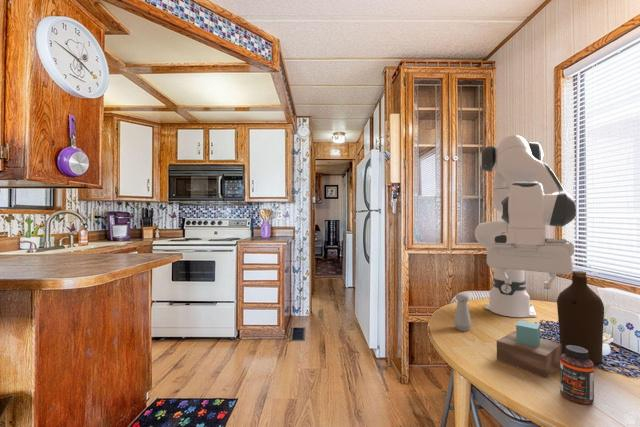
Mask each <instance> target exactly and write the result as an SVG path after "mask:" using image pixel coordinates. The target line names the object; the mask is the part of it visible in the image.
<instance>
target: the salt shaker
mask: <svg viewBox="0 0 640 427" xmlns="http://www.w3.org/2000/svg"><path fill="white" fill-rule="evenodd" d="M455 299H456V301H457V304H456V309H455V315H454V319H453V323H454V325H455V328H456V330H458V331H460V332H468V331H470V329H471V326H472V320H471V315H470V309H469V305H468V302H469V299H470V297H469V295H468V294H467V293H463V292H459V293H456V294H455Z"/></svg>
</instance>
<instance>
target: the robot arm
mask: <svg viewBox="0 0 640 427" xmlns="http://www.w3.org/2000/svg"><path fill="white" fill-rule="evenodd" d="M542 148H543V147H542V146H541V144H540V143H539V142H534V141H528V142H527V140H526V139H525V138H524V137H522V136H520V135H509V136H505V137H504V138H502V140H500V142H499V144H497V145H494V146H492V145H489V146H486V147H484V148H483V149H481V152H480V154H479V155H478V163H479V166H480V167H481V169H482V170H483V171H485V172H494V174H493V175H494V176H493V183H492V185H493V186H492V198H493V199H492V200H493V204H492V205H493V208H494V209H495V210H496V211H498V212H499V213H501V217H500V218H501V220H503V221H501V220H500V221H498V220H497V221H495V220H492V221H485V222H479V223H478V225H477V226H476V227H475V230H474V237H475V239H476V241H477V243H478V244H480V245H481V246H482V247H484V249H485V250H487V252H486V253H487V254H486V264H487V266H488V267H490V268H493V278H492V286H493V287H492V288H491V289H490V290H489V294H488V304H486V305H485V306H484V309H486V310H489V311H491V312H492V313H494V314H497V315H501V316H506V317H512V318H537V313H536V310H535V307H534V305H533V304H532V303H531V302H530V301H531V300H530V299H531V298H530V297H531V296H530V295H529V293H528V292H527V290H526V289H527V282H526V280H525V271H526V272H528V271H529V272H536V273H537V272H538V273H546V274H547V273H548V277H549V278H550V279H549V280H548V281H547V280H546V281H544V282H543V285H544V286H543V289H546V290H551V289H552V283H553V281H554V280H555V279H556V278H557V275H570V274H571V273H572V271H574V267H573V259H572V256H573V255H574V253H575V246H574V244H573V242H572V241H568V240H567V239H564V238H560V239H557V238H547V234H546V233H547V232H546V231H547V230H546V226H550V227H559V228H560V227H564V226H566V225H568V224H570V223H571V222H572V221H573V220H574V219H575V218H576V214H577V207H576V202H575V200H574V198H573V197H572V195H570V194H569V193H568V192H567V191H566V189H564V187H563V185H562V184H561V182H560V180H559V179H558V177H557V176H556V174H555V172H554V171H553V170H552V169H551V167H550V166H549V164H548V163H546V162H543V161H542V160H543V157H544V151H543V149H542Z"/></svg>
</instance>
